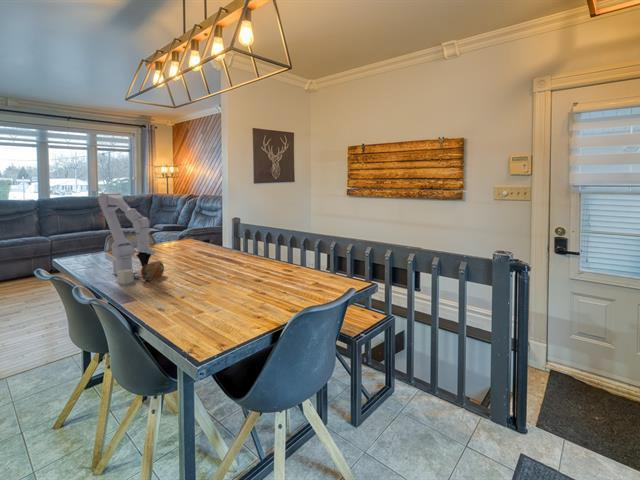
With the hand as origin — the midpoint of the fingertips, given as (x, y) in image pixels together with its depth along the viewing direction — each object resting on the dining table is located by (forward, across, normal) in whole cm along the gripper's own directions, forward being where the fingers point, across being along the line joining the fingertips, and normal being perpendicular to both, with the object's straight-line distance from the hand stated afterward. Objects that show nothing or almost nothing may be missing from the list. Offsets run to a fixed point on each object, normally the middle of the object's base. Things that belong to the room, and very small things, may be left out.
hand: (144, 266), depth 186 cm
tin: (+6, +6, 0) cm, 8 cm away
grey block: (+6, 0, -11) cm, 12 cm away
